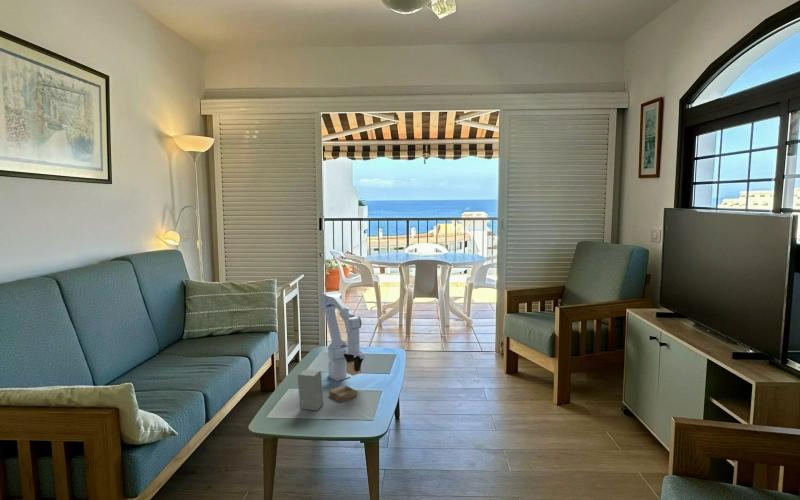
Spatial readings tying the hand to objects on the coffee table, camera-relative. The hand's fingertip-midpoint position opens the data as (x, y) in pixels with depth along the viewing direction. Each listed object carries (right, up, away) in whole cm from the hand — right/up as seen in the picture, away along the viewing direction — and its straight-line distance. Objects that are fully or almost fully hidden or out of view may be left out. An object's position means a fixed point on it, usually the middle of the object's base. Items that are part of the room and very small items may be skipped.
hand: (353, 369), depth 220 cm
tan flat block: (-4, -10, -10) cm, 14 cm away
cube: (0, -2, 0) cm, 2 cm away
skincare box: (-16, -11, -21) cm, 29 cm away
